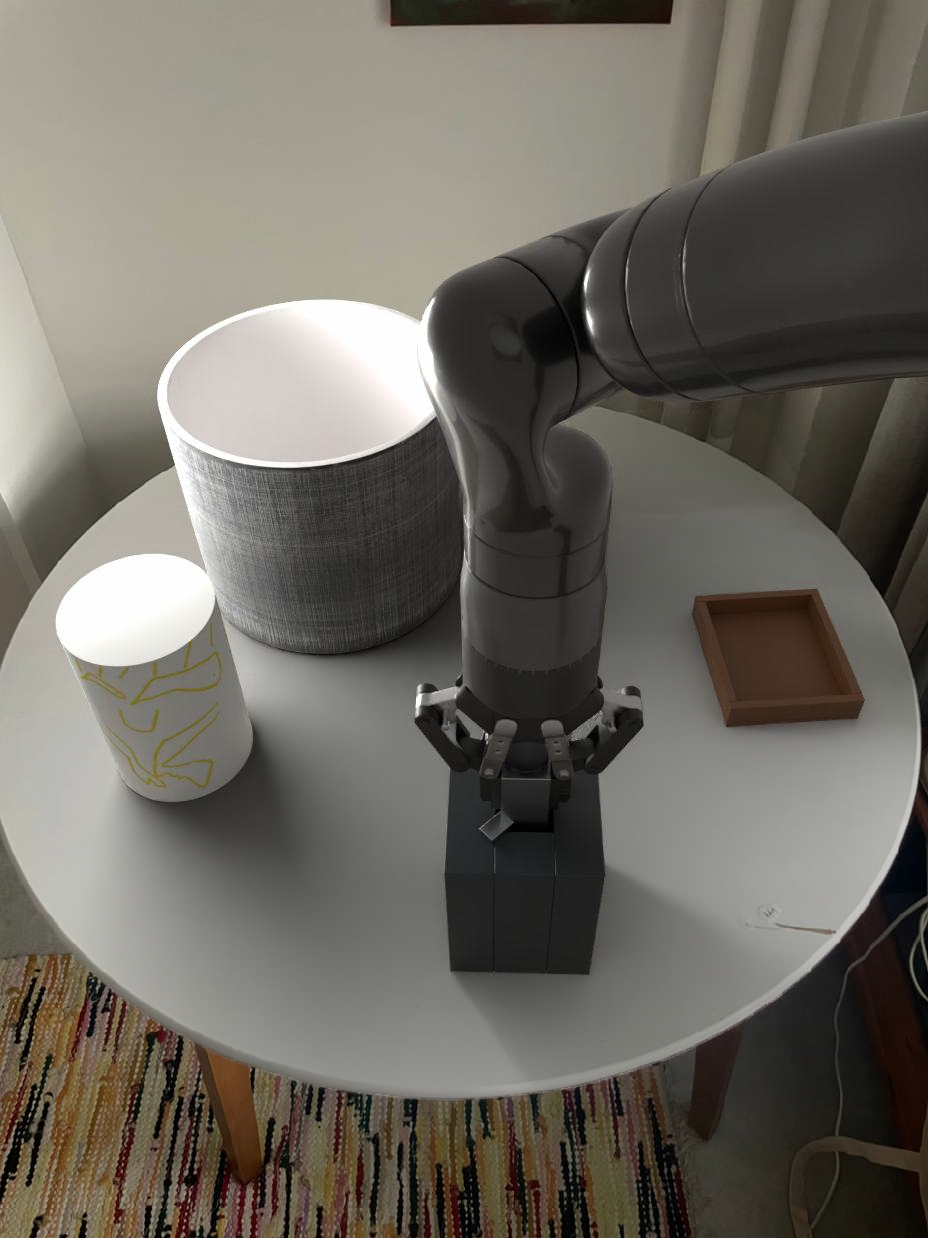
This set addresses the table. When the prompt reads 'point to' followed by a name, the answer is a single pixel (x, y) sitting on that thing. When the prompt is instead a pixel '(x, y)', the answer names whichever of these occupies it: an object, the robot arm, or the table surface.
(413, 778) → the table surface
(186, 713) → the white patterned cylinder
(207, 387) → the planter
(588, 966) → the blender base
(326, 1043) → the table surface
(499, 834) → the grey square bar
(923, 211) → the robot arm
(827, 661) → the tray
